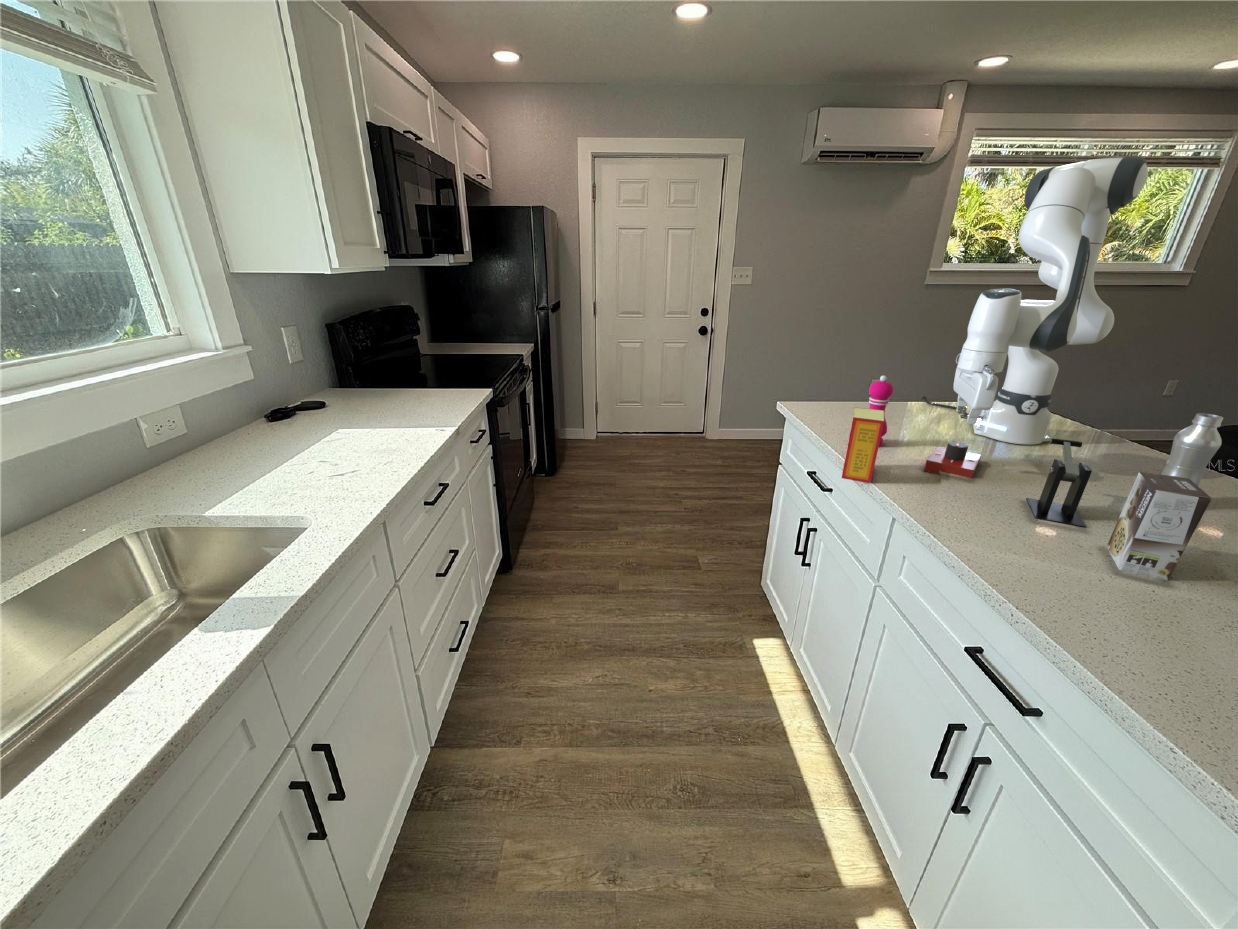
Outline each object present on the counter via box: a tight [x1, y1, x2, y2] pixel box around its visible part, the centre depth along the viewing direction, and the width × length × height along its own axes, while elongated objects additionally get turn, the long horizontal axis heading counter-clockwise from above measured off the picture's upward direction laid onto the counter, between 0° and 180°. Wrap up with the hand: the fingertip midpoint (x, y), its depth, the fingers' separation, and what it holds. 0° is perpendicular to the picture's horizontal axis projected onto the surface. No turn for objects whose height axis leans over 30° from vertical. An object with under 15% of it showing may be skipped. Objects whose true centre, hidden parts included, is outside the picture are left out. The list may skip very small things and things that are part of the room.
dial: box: [944, 440, 969, 460], centre depth 124 cm, size 4×4×4 cm
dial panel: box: [923, 445, 982, 479], centre depth 125 cm, size 13×10×3 cm
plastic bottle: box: [1160, 412, 1224, 487], centre depth 104 cm, size 6×7×20 cm
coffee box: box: [1106, 471, 1213, 582], centre depth 83 cm, size 9×6×16 cm
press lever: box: [1049, 437, 1083, 483], centre depth 101 cm, size 11×5×2 cm, turn 151°
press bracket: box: [1025, 458, 1093, 529], centre depth 100 cm, size 10×8×12 cm
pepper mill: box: [868, 374, 894, 447], centre depth 139 cm, size 7×7×20 cm
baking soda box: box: [841, 407, 884, 484], centre depth 120 cm, size 10×6×16 cm
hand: (965, 418), depth 121 cm, fingers open, 8 cm apart
